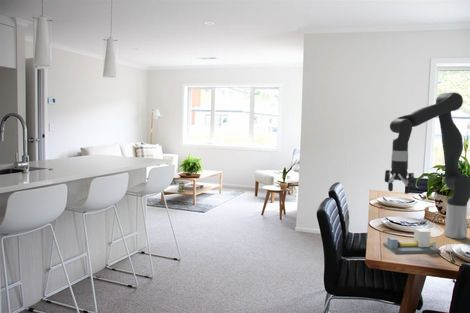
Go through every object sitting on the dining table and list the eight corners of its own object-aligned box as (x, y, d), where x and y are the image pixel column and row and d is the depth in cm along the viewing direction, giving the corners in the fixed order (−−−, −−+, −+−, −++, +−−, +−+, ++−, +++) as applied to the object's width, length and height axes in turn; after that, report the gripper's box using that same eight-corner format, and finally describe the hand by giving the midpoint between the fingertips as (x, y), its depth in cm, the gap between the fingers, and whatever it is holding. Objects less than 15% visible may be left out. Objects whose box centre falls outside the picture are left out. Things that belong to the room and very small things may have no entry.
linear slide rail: (426, 244, 200) (426, 233, 200) (440, 252, 188) (441, 241, 188) (383, 245, 198) (383, 234, 198) (395, 253, 186) (395, 242, 186)
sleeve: (423, 243, 196) (424, 228, 196) (429, 246, 191) (430, 231, 190) (413, 243, 196) (414, 228, 195) (419, 247, 191) (420, 231, 190)
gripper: (417, 160, 196) (416, 193, 198) (390, 157, 208) (389, 189, 210) (409, 161, 192) (407, 195, 194) (382, 159, 203) (381, 191, 205)
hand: (398, 192), depth 202 cm, fingers open, 8 cm apart
